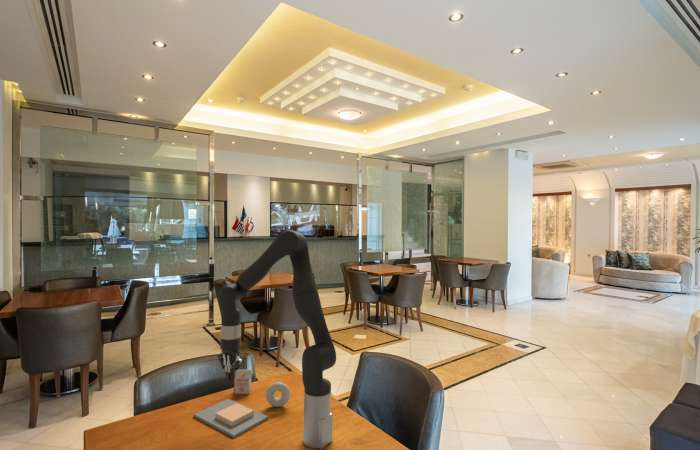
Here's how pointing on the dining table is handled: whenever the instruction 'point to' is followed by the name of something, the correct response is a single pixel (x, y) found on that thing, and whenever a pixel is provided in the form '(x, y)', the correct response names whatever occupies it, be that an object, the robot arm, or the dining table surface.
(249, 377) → the white printed carton
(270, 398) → the donut
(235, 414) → the tile
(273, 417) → the dining table surface
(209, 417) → the board
